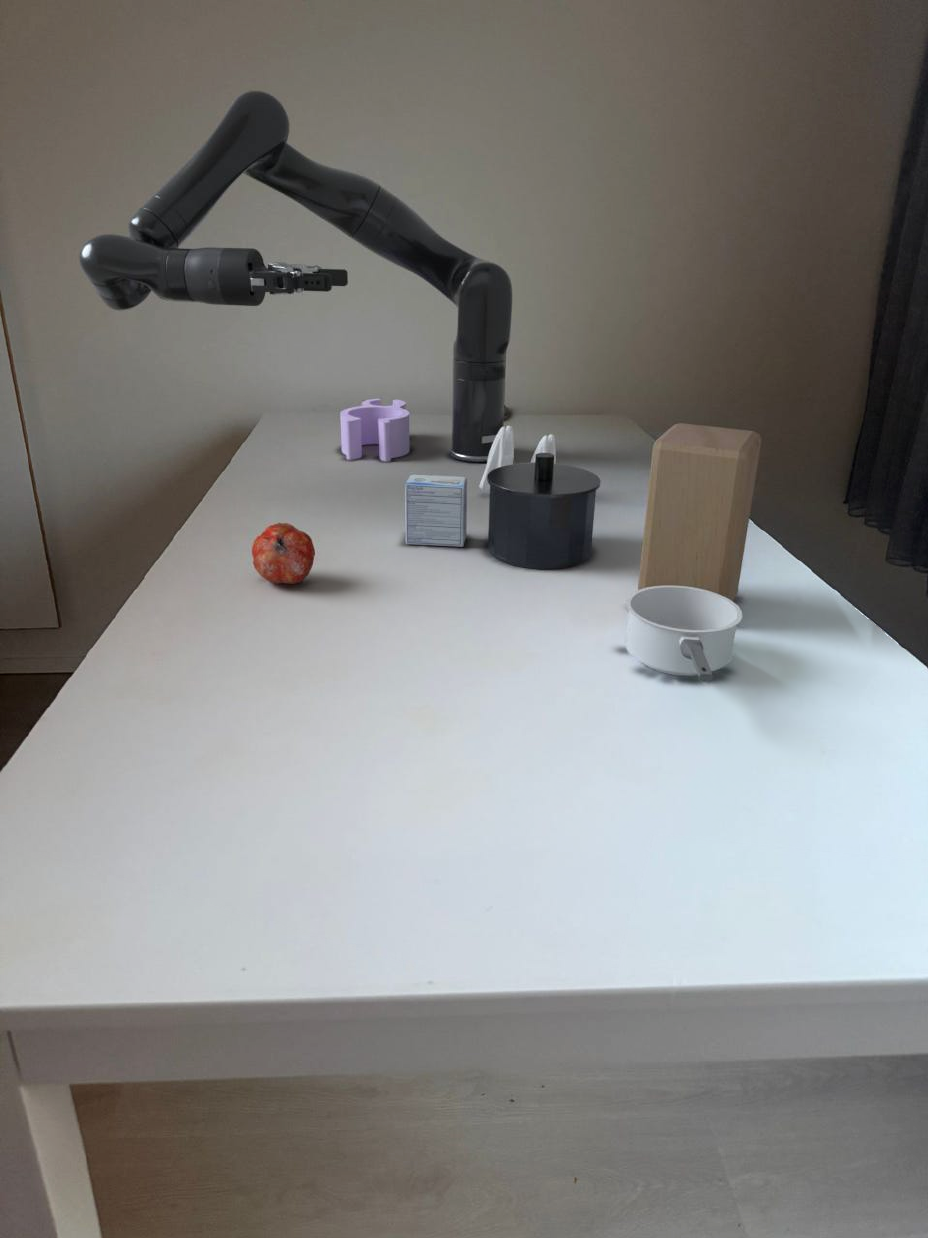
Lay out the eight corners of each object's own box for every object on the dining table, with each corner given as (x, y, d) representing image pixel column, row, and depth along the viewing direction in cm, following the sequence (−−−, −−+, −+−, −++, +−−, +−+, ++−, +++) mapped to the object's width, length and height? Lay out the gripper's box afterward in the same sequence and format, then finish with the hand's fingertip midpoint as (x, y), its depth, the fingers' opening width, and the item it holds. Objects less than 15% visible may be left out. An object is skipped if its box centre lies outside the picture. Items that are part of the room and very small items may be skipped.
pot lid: (492, 468, 125) (493, 438, 123) (599, 473, 123) (602, 444, 121) (480, 499, 111) (481, 466, 110) (600, 506, 110) (602, 473, 108)
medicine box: (466, 537, 125) (468, 476, 121) (463, 548, 121) (464, 485, 117) (410, 534, 126) (409, 473, 122) (405, 545, 122) (404, 482, 118)
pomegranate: (258, 587, 113) (231, 565, 103) (274, 533, 115) (249, 506, 105) (315, 599, 112) (293, 578, 102) (330, 544, 114) (310, 518, 104)
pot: (493, 530, 128) (496, 464, 124) (590, 536, 126) (596, 470, 122) (483, 565, 116) (485, 493, 112) (590, 572, 114) (596, 500, 110)
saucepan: (633, 725, 81) (639, 670, 78) (616, 629, 99) (621, 582, 97) (763, 733, 80) (774, 678, 78) (723, 635, 98) (730, 587, 96)
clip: (356, 433, 179) (355, 397, 176) (419, 435, 178) (419, 400, 175) (333, 459, 161) (331, 420, 158) (402, 462, 160) (402, 423, 157)
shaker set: (479, 499, 141) (481, 429, 136) (477, 491, 145) (479, 422, 140) (555, 500, 142) (560, 429, 137) (552, 492, 145) (556, 423, 141)
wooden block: (737, 597, 108) (764, 430, 99) (722, 629, 99) (749, 450, 91) (654, 582, 111) (673, 420, 103) (633, 612, 103) (651, 438, 95)
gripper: (203, 249, 118) (324, 253, 116) (241, 245, 131) (351, 248, 129) (208, 310, 121) (326, 314, 120) (245, 299, 134) (352, 303, 132)
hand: (339, 280), depth 124 cm, fingers open, 8 cm apart
